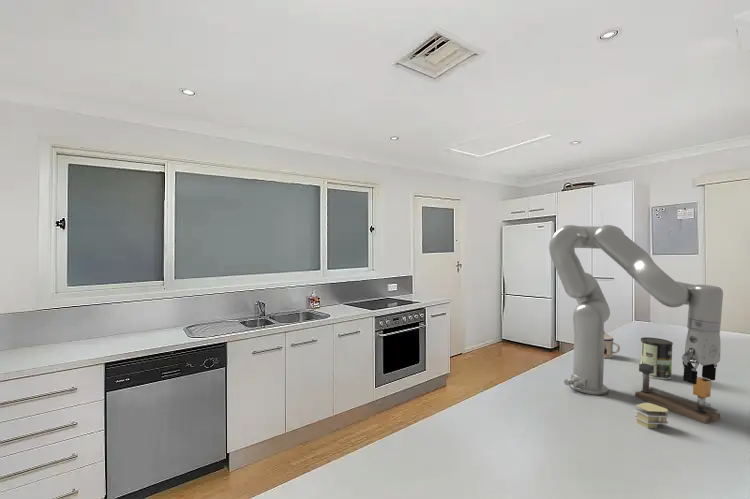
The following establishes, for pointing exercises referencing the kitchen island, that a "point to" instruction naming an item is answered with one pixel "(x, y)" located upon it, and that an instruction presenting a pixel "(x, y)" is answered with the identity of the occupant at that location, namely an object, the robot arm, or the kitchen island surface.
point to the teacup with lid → (609, 346)
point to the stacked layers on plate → (651, 415)
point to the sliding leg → (702, 392)
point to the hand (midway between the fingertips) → (699, 380)
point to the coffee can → (657, 356)
